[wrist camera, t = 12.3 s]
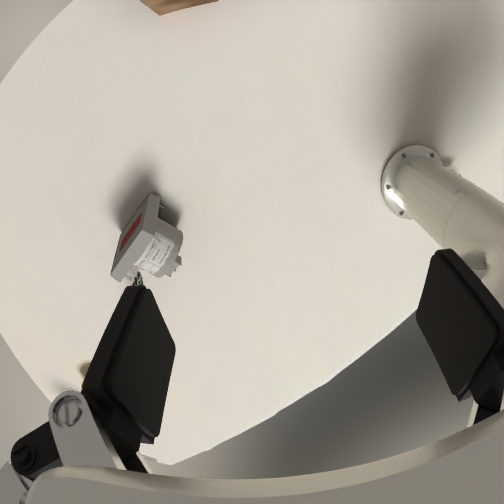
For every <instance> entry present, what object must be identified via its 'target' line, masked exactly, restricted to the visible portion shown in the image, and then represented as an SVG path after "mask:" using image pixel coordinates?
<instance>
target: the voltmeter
mask: <svg viewBox="0 0 504 504" xmlns="http://www.w3.org/2000/svg"><path fill="white" fill-rule="evenodd" d="M160 198H161V197H160V196H158V195H155V194H152V193H149V195H148V196H147V197H146V199H145V200H144V202H143V203H142V204H141V206H140V207H139V209H138V210H137V211H136V213H135V214H134V216H133V217H132V219H131V220H130V221H129V223H128V224H127V226H126V227H125V229H124V230H123V232H122V233H121V235H120V238H119V242H118V246H117V250H116V254H115V257H114V262H113V266H112V270H111V274H110V275H111V276H112V277H113V278H114V279H116V280H117V281H118V282H121V281H122V279H123V278H124V277H125V278H127V279H129V280H131V279H132V278H131V277H129V276H127V275H126V274H127V273H128V271H129V270H130V268H131V267H132V266H133V265H134V266H136V267H138V268H140V269H142V270H144V271H146V272H148V273H150V274H152V275H154V276H156V277H161V276H163V275H164V274H166V275H167V276H169V277H171V274H172V273H173V271H176V268H177V267H178V266H179V265H181V257H180V256H178V253H179V251H180V248H181V245H182V241H183V233H182V231H180V230H179V229H177V228H175V227H173V226H172V225H170V224H168V223H166V222H165V221H163V220H161V219H160V218H158V211H159V207H160V208H162V209H163V210H164V209H165V207H163V206H161V205H160ZM137 276H138V279H139V276H140V273H139V272H138V274H137ZM140 280H141V281H142V277H141V278H140ZM132 285H133V286H134V285H137V277H135V284H134V282H133V284H132ZM139 285H143V282H141V284H140V281H139Z"/></svg>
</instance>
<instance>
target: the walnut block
mask: <svg viewBox="0 0 504 504" xmlns="http://www.w3.org/2000/svg"><path fill="white" fill-rule="evenodd" d="M216 1H218V0H141V2H142V3H144V4H145V5H146V6H148V7H149V8H150V9H152V10H153V11H154V12H156V13H157V14H158V15H164V14H167V13H170V12H174V11H177V10H181V9H185V8H189V7H193V6H197V5H202V4H206V3H211V2H216Z"/></svg>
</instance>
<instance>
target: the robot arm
mask: <svg viewBox="0 0 504 504" xmlns="http://www.w3.org/2000/svg"><path fill="white" fill-rule="evenodd" d="M386 185H387V186H386ZM381 188H382V195H383V198H384V201H385V203H386V205H387V206H388V208H389V209H390V210H391V211H392V212H393V213H394V214H395V215H397V216H399V217H401V218H404V219H414V220H415V221H416V222H417V223H418V224H419V225H420V226H421V227H422V228H423V229H424V230H425V231H426V232H427V233H428V234H429V235H430V236H431V237H432V238H433V239H434V240H435V241H436V242H437V243H438V244H439V245H440V246H441V247H442V248H443V249H442V250H437V251H436V252H435V254H434V255H433V256H432V257H431V261H430V265H429V269H428V273H427V277H426V281H425V285H424V288H423V292H422V295H421V299H420V302H419V306H418V309H417V312H416V320H417V323H418V325H419V327H420V329H421V331H422V333H423V335H424V336H425V338H426V340H427V342H428V344H429V346H430V348H431V350H432V352H433V354H434V356H435V358H436V360H437V362H438V364H439V366H440V368H441V371H442V373H443V375H444V377H445V379H446V381H447V384H448V386H449V388H450V390H451V392H452V394H453V395H456V397H457V399H458V401H459V402H460V401H462V400H465V399H467V398H469V397H471V395H472V396H473V398H474V403H473V407H472V411H471V414H470V418H469V422H468V425H467V428H466V429H464V430H462V431H460V432H458V433H455V434H453V435H451V436H448V437H446V438H444V439H441V440H439V441H436V442H434V443H431V444H429V445H426V446H423V447H420V448H417V449H415V450H412V451H409V452H406V453H403V454H399V455H396V456H393V457H389V458H386V459H383V460H379V461H375V462H371V463H367V464H363V465H359V466H355V467H350V468H345V469H340V470H334V471H329V472H323V473H316V474H310V475H301V476H292V477H282V478H270V479H247V480H220V479H197V478H184V477H172V476H163V475H155V474H153V472H152V471H151V469H150V468H149V466H148V465H147V463H146V462H145V460H144V458H143V457H142V455H141V454H140V452H139V448H140V443H146V444H154V438H155V437H158V435H159V433H160V428H161V423H162V417H163V412H164V407H165V401H166V396H167V391H168V386H169V381H170V376H171V371H172V367H173V362H174V357H175V352H176V349H175V344H174V341H173V339H172V337H171V335H170V333H169V330H168V328H167V326H166V324H165V322H164V319H163V317H162V315H161V312H160V310H159V308H158V305H157V303H156V301H155V298H154V296H153V294H152V291H151V290H150V289H146V287H145V286H144V285H134V286H127V287H126V288H125V290H124V292H123V294H122V296H121V298H120V300H119V302H118V304H117V306H116V308H115V310H114V312H113V314H112V317H111V319H110V321H109V323H108V325H107V327H106V329H105V332H104V334H103V336H102V338H101V341H100V343H99V345H98V347H97V350H96V352H95V354H94V357H93V359H92V361H91V364H90V366H89V369H88V371H87V374H86V376H85V379H84V381H83V384H82V386H81V387H82V390H81V393H79V392H76V391H66V392H64V393H61V394H60V395H59V396H57V397H56V398H55V400H54V401H53V402H52V404H51V406H50V409H49V415H48V416H49V421H48V422H46V423H45V424H43V425H41V426H40V427H39V428H37V429H35V430H34V431H32V432H30V433H29V434H27V435H25V436H24V437H22V438H21V439H19V440H18V441H17V442H16V443H15V445H14V446H13V448H12V451H11V462H9V461H7V463H6V464H5V465H4V466H3V467H2V468H1V470H0V504H504V203H502V202H501V201H499V200H498V199H496V198H495V197H493V196H492V195H490V194H489V193H487V192H486V191H484V190H483V189H481V188H479V187H478V186H476V185H475V184H473V183H471V182H470V181H468V180H467V179H465V178H463V177H462V176H461V175H460V174H456V173H455V172H453V171H451V170H449V169H448V168H446V167H444V164H443V162H442V160H441V158H440V157H439V156H438V154H437V153H436V152H434V151H433V150H431V149H430V148H428V147H425V146H422V145H410V146H406V147H404V148H402V149H400V150H399V151H398V152H397V153H395V154H394V155H393V157H392V158H391V159H390V160H389V162H388V164H387V165H386V167H385V170H384V172H383V177H382V185H381ZM472 270H487V271H486V273H485V275H484V277H483V279H482V280H480V279H479V278H478V277H477V276H476V274H475V273H474V272H473V271H472Z"/></svg>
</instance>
